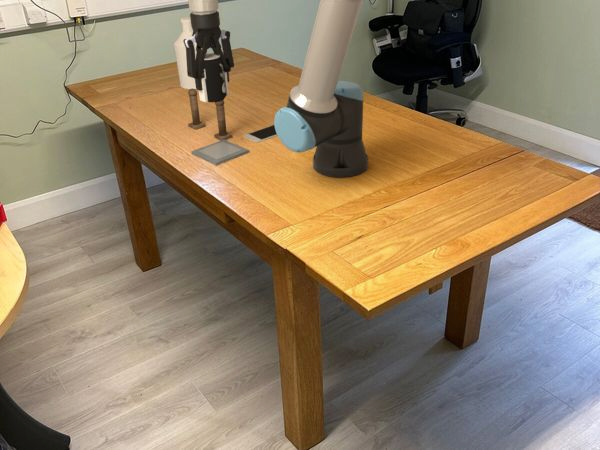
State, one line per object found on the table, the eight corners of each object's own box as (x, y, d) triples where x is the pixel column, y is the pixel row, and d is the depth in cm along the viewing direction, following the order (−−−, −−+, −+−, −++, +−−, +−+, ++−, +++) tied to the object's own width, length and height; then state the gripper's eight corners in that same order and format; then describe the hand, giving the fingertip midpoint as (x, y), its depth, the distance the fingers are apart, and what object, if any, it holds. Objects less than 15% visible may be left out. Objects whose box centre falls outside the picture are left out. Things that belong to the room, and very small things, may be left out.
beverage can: (222, 103, 160) (217, 59, 154) (199, 102, 162) (193, 59, 156) (229, 95, 166) (224, 53, 160) (207, 95, 167) (202, 52, 161)
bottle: (207, 88, 224) (199, 21, 212) (177, 89, 225) (167, 22, 212) (212, 79, 235) (204, 14, 222) (182, 80, 235) (173, 15, 222)
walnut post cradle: (232, 137, 182) (228, 97, 175) (222, 141, 179) (217, 101, 173) (198, 123, 193) (193, 85, 187) (188, 126, 191) (183, 88, 184)
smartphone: (242, 137, 182) (242, 135, 181) (281, 124, 191) (280, 121, 190) (257, 144, 177) (256, 141, 177) (295, 130, 186) (295, 127, 185)
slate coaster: (249, 152, 171) (249, 149, 171) (216, 165, 164) (216, 162, 164) (224, 141, 179) (223, 139, 178) (191, 153, 172) (191, 151, 171)
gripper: (225, 4, 160) (234, 86, 171) (163, 16, 149) (177, 103, 160) (242, 6, 155) (250, 91, 167) (180, 19, 144) (193, 109, 155)
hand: (214, 97), depth 163 cm, fingers closed on beverage can, 7 cm apart
